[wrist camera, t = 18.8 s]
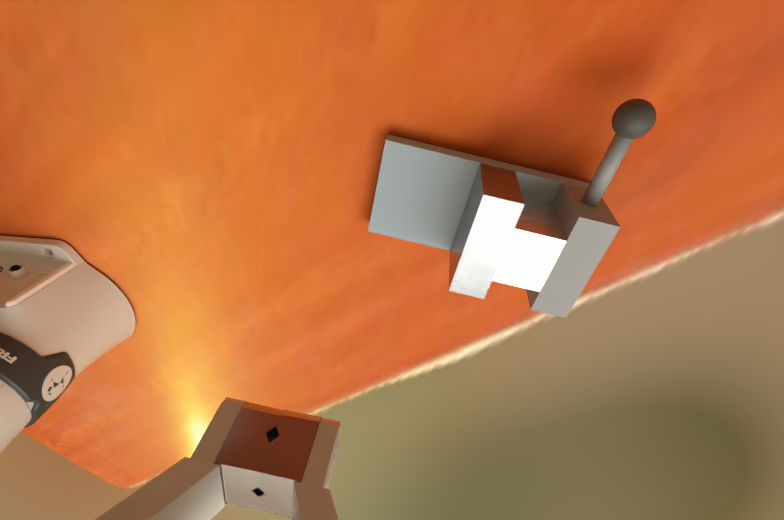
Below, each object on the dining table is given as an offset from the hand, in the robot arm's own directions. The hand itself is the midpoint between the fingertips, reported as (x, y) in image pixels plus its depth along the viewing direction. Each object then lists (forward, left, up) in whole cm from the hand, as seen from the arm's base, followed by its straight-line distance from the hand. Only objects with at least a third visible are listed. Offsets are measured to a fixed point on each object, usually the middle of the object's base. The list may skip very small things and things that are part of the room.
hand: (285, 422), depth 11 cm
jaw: (+9, -6, -28) cm, 29 cm away
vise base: (+8, -3, -29) cm, 30 cm away
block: (+12, -7, -28) cm, 31 cm away
